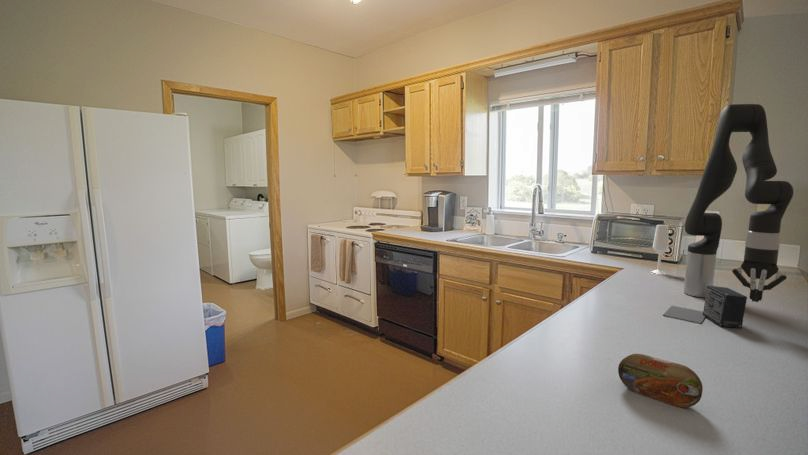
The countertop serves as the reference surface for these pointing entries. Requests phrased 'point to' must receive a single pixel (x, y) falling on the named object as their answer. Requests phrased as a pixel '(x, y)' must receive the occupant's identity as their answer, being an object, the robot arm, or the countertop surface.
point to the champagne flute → (660, 244)
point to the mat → (685, 314)
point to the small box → (724, 306)
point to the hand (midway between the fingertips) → (755, 301)
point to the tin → (661, 380)
